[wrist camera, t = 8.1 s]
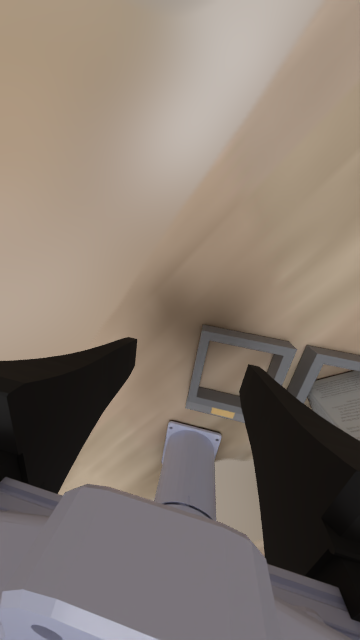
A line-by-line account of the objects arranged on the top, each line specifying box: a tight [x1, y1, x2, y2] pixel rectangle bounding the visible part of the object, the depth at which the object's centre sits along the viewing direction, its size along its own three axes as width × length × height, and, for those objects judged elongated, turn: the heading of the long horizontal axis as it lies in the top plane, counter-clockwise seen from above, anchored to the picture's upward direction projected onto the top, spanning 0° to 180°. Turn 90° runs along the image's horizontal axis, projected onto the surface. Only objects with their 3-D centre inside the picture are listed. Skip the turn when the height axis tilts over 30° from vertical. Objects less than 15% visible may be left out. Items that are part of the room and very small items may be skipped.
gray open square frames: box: [186, 325, 360, 423], centre depth 21 cm, size 12×22×2 cm, turn 81°
